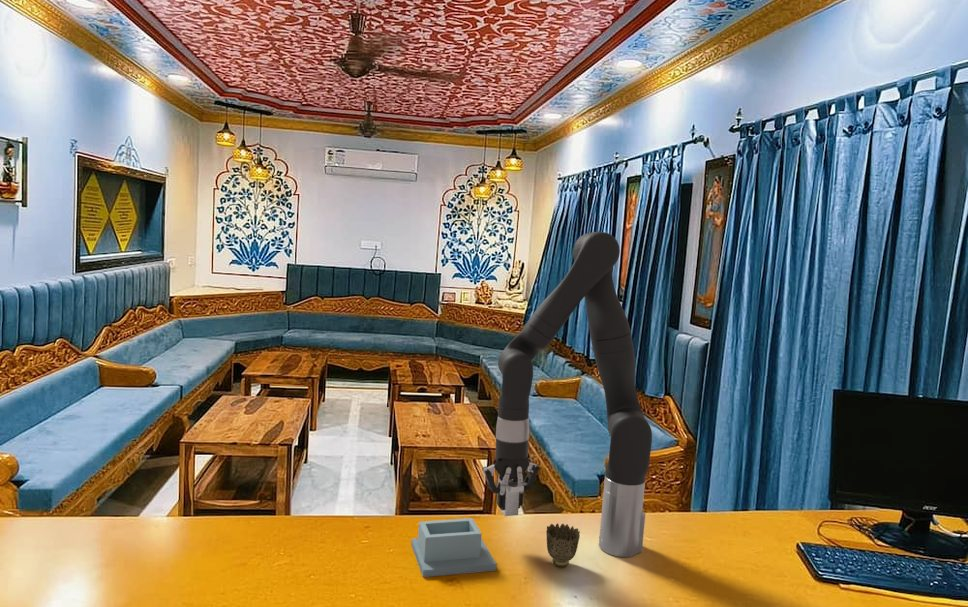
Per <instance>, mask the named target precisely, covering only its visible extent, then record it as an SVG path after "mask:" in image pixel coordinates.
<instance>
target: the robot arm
mask: <svg viewBox="0 0 968 607" xmlns="http://www.w3.org/2000/svg"><path fill="white" fill-rule="evenodd" d="M620 254H621V250H620V245H619V242H618V240H617V239H616V238H615V236H614V235H612V234H610V233H609V232H605V231H593V232H588V233H584V234H582V235H580V236H579V237H578V238H577V240H576V241H575V243H574V245H573V249H572V256H573V261H574V262H573V264H572V265H571V267H570V269H569V270H568V272H567V273H566V275H565V276H564V277H563V279H562V280H561V281H560V283H558V285H557V286H556V287H555V288H554V289H553V290H552V291H551V292H550V293H549V294H548V295H547V296H546V298H545V299H543V301H542V302H541V303H540V304H539V305H538V307H537V308H536V309H535V311H534V312H533V313H532V315H531V316H530V318H529V319H528V320H527V322H525V325H524V326H523V328H522V330H520V332H518V334H516V336H515V337H514V338H513V339H512V340H510V342H509V343H508V344H507V345H506V347H505V348H504V349H503V350H502V352H501V353H500V355H499V358H498V360H497V366H498V370H499V371H500V372H501V374H502V381H501V392H500V393H499V395H498V396H499V397H498V404H497V406H498V407H497V408H498V409H497V420H496V428H495V429H496V430H495V452H494V453H495V455H494V461H493V462H492V464H491V465H489V466H483V467H481V468H482V472H483V475H484V478H485V480H486V483H487V485H488V488H489V490H491V493H493V494H496V505H497V506H498V508H499V509H500V511H501V510H505V494H504V493H505V489H506V485H507V483H508V480H511V479H514V480H517V481H518V482H520V483H521V484H522V485H523V486H524V491H522V492H519V508H518V510H520V509H521V507H522V506H523V503H524V493H525V491H530V490H531V489H532V488H533V485H534V483H535V480H536V478H537V475H538V474H539V472H540V466H538V464H537V463H536V462H530V461H529V459H528V458H529V457H528V456H529V443H530V442H529V441H530V440H529V438H530V422H529V418H530V417H529V416H530V414H529V413H530V394H531V391H532V386H533V380H534V365H533V360H534V359H535V357H536V356H537V354H538V353H539V352H540V351H542V350H545V349H546V348H548V347H549V345H550V344H551V343H552V341H554V339H555V338H556V336H557V334H558V333H559V332H560V331H561V329H562V328H563V326H564V325H565V323H566V322H567V321H568V319H569V317H570V316H571V315H572V313H573V312H574V311H575V309H576V308H577V307H578V306H579V304H580V303H581V302H582V300H583V299H584V301H585V310H586V315H587V316H586V317H587V318H586V319H587V322H588V328H589V329H588V330H589V336H590V342H591V346H592V347H591V348H592V351H593V357H594V360H595V364H596V368H597V371H598V375H599V377H600V380H601V384H602V387H603V391H604V397H605V406H606V421H607V422H606V423H607V432H608V435H609V437H610V443H609V450H608V452H609V454H608V461H607V462H606V465H605V473H604V481H603V482H604V485H603V493H602V506H601V513H600V514H601V517H600V526H599V527H600V529H599V538H598V546H599V548H600V549H601V550H602V551H603V552H604V553H606V554H608V555H611V556H615V557H618V558H619V557H620V558H627V557H629V558H630V557H633V556H636V555H637V554H639V553H643V546H644V535H645V524H646V513H645V511H643V508H644V495H645V486H646V477H647V476H646V475H647V473H648V470H649V466H650V458H651V450H652V442H653V431H652V428H651V425H650V424H649V422H648V421H647V419H646V418H645V415H644V413H643V410H642V407H641V404H640V401H639V398H638V397H639V396H638V393H637V390H636V389H637V388H636V384H635V383H636V382H635V381H636V379H635V376H636V375H635V373H636V366H635V365H636V361H635V358H636V357H635V348H634V342H633V336H632V331H631V327H630V324H629V320H628V318H627V317H628V316H626V312H625V310H624V307H623V306H622V304H621V302H620V300H619V297H618V295H617V291H616V289H615V284H614V277H613V272H612V271H613V269H612V268H614V266H616V264H617V262H618V260H619V258H620ZM495 471H496V472H497V474H498V477H497V484H496V483H495V481H494V477H493V476H494V475H495ZM526 471H527V473H526V475H525V478H524V476H523V475H524V474H525V472H526Z"/></svg>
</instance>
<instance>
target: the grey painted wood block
mask: <svg viewBox="0 0 968 607" xmlns="http://www.w3.org/2000/svg"><path fill="white" fill-rule="evenodd" d="M522 491H524V486H523V485H522V484H521V483H520V482H518V481H517V480H514V479H511V480H508V483H507V485H506V489H505V493H504V494H505V510H501V509H500V511H501V513H502V514H503V516H504V517H513V516H519V509H520V508H519V492H522ZM524 492H525V491H524ZM518 508H519V509H518Z"/></svg>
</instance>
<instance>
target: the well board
mask: <svg viewBox="0 0 968 607" xmlns="http://www.w3.org/2000/svg"><path fill="white" fill-rule="evenodd" d="M417 531H418V533H417V534H418V535H417V538H416V537H415V538H411V542H410V543H411V544H410V545H411V547H412V551H413V554H414V556H415V559H416V562H417V565H418V568H419V570H420V573H421V575H422V577H423V578H430V577H438V576H439V577H441V576H449V575H450V576H451V575H463V574H472V573H483V572H486V573H487V572H494V571H497V562H496V560H495V559H494V557H493V555H492V554H491V552H490V551H489V548H488V547H487V545H486V543H485V542H484V540H483V538H482V535H483V534H482V532H481V530H480V528H479V526H478V525H477V523H476V522H475V520H474V518H472V517H471V518H470V517H469V518H456V519H455V518H454V519H440V520H439V519H437V520H425V521H419V522H418V530H417Z"/></svg>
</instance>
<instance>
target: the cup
mask: <svg viewBox="0 0 968 607" xmlns="http://www.w3.org/2000/svg"><path fill="white" fill-rule="evenodd" d="M545 533H546V549H547V552H548V555H549V557H550V558H551V559H552V560H551V562H552V564H553V566H555V567H557V568H559V569H560V568H561V569H564V568H567V567H568V566H569V564H570V561H571V560H572V559H573V558H574V557H575V556H576V553H577V550H578V547H579V546H578V545H579V541H580V537H581V536H580V534H581V533H580V530H579V528H578V527H576V528H574V525H571V526H569V524H568V523H566V524H564V523H561V525H559V523H556V525H555V524H553V523H550V525H547V526H546V532H545Z"/></svg>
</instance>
